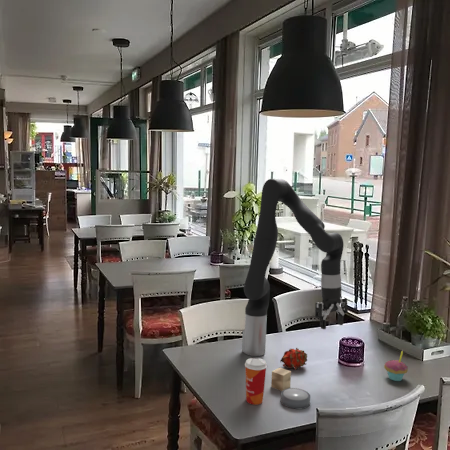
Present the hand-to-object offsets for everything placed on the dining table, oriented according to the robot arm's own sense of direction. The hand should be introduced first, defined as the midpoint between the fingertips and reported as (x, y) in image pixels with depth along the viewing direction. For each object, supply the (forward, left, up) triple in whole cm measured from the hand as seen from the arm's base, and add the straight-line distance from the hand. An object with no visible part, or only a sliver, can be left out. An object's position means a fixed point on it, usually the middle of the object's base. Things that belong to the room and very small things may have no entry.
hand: (331, 326), depth 189 cm
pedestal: (+2, -28, -19) cm, 34 cm away
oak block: (-8, -22, -20) cm, 30 cm away
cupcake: (+20, +15, -20) cm, 32 cm away
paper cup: (-8, -37, -20) cm, 43 cm away
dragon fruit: (-14, -4, -20) cm, 24 cm away
